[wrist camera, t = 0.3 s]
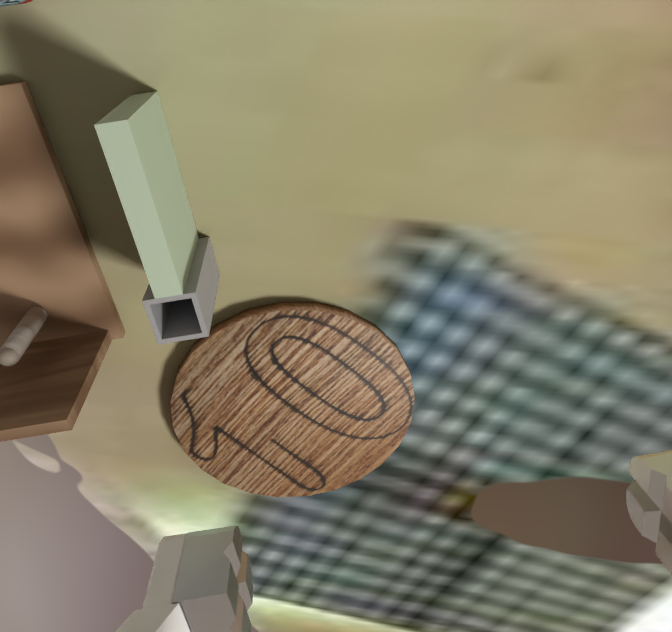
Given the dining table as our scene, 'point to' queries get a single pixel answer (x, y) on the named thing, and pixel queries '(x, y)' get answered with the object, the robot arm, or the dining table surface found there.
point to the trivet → (292, 399)
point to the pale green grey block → (160, 219)
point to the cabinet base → (44, 283)
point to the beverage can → (12, 2)
